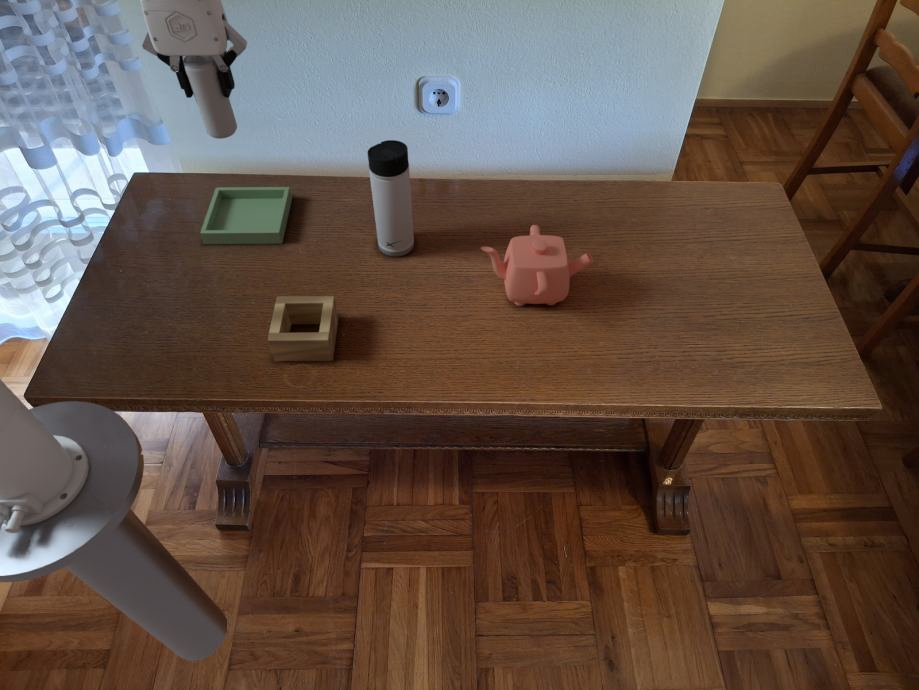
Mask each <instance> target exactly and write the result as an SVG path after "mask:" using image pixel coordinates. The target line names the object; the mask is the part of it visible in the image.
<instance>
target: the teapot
mask: <svg viewBox="0 0 919 690" xmlns="http://www.w3.org/2000/svg"><path fill="white" fill-rule="evenodd" d="M480 250H481V251H483V252H484V253H486V254H488V255H489V257H490V259H491V264H492V268H493V272H494V273H495V275H496V276H497V277H498V278H499V279H501V280H502V281H503V283H504V289H505V294H506V297H507V299H508V301H510V302H511V303H512V302H513V303H514V304H515V305H516V306H524V305H526V304H532V305H541V304H546V305H548V306H554V305H556V304H557V303H559V302H563V301H564V300H565V299H566V298H567V296H568V295H569V291H570V277H572V276H573V275H576V274H578V273H579V272H580V271H582V270H583V269H585V268H587V267H588V266H590V265H592V264H593V263H595V261H594V258H593V256H592V255H591V254H590V253H589V252H586V253H584V254H583V255H581V256H579V257H577V258H576V259H574V260H573V261H571V262H570V263H569V260H568V259H569V258H568V253H567V248H566V244H565V240H564V238H563V237H562V236H557V235H550V234H549V235H547V234H541V229H540V226H539V225H538V224H532V225H531V226H530V229H529V235H518V236H514V237H512V238H511V239H510V241H509V243H508V246H507V248H506V250H505V251H506V252H505V254H504V259H503V260H501V259H500V256H499V253H498V251H497V250H496V249H495V248H493V247H490V246H481V247H480Z"/></svg>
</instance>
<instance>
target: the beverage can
mask: <svg viewBox="0 0 919 690" xmlns="http://www.w3.org/2000/svg"><path fill="white" fill-rule="evenodd" d="M183 57H184V59H183V62H184V68H185V71H186V74H187V77H188V80H189V82H190V85H191V88H192V91H193V97H194V99H195V102H196V105H197V108H198V112H199V114H200V116H201V120H202V122H203V125H204V128H205V131H206V133H207V135H208V136H209V137H211V138H213V139H226V138H229V137H232V136H233V135H234V134H235V133H236V131H237V129H238V124H237V120H236V117H235V114H234V110H233V107H232V103H231V100H230V97H229V98H225V97H224V96H223V93H222V89H221V86H220V83H219V79H218V76H217V72H218V70H219V69H218V66H217V64H216V63H215V61H214V59H213V57H212V56H183Z"/></svg>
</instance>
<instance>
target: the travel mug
mask: <svg viewBox="0 0 919 690" xmlns="http://www.w3.org/2000/svg"><path fill="white" fill-rule="evenodd" d="M408 149H409V148H408V145H407V144H406V143H405V142H402V141H400V140H395V139H389V140H383V141H380V143H377V144H375V145H373V146H371V147H370V148H368V149H367V161H368V171H369V179H370V181H369V182H370V189H371V197H372V203H373V212H374V213H373V214H374V220H375V228H376V229H375V230H376V238H377V245H378V246H377V247H378V249H379V251H380V252H382V253H383V254H384V255H386V256H389V257H403V256H405V255H407V254H409V253H410V252H411V251H412V250H413V249H414V247H415V237H414V236H415V235H414V221H413V219H414V218H413V204H412V189H411V175H410V174H411V173H410V163H409V150H408Z"/></svg>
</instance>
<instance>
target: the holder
mask: <svg viewBox="0 0 919 690" xmlns="http://www.w3.org/2000/svg"><path fill="white" fill-rule="evenodd" d="M274 303H275V304H274V308H273V313H272V318H271V323H270V326H269V327H270V328H269V331H268V336H267V343H268V347H269V349H270V352H271V355H272V357H273V360H274V362H333V361H334V356H335V350H336V349H335V348H336V341H337V333H338V326H339V313H338V307H337V302H336V298H335V295H294V296H293V295H285V296H283V295H281V296H278V295H277V296H276V299H275V302H274ZM292 325H319V330H318V332H315V331H314V332H291V329H292Z"/></svg>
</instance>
